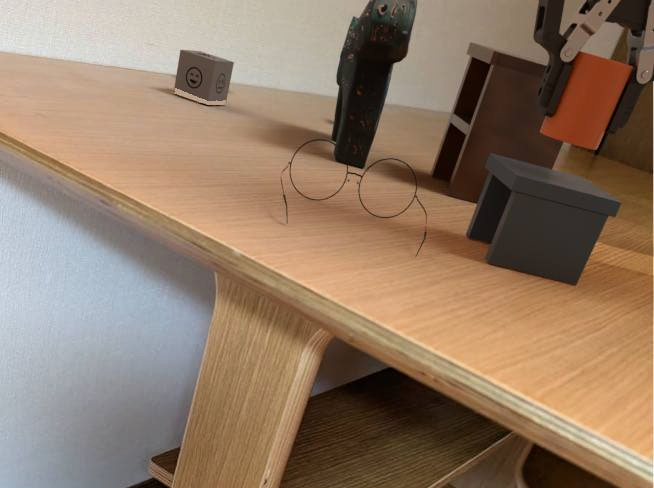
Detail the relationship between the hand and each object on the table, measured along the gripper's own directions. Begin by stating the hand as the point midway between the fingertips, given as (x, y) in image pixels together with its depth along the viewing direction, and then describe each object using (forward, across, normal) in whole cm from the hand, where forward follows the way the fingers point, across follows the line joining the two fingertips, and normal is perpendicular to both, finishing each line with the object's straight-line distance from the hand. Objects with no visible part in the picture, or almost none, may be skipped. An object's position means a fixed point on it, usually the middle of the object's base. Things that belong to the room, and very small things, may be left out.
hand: (575, 122), depth 66 cm
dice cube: (+11, -31, +45) cm, 55 cm away
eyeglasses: (+11, -16, -2) cm, 20 cm away
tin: (+1, 0, 0) cm, 1 cm away
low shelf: (+11, 0, 0) cm, 11 cm away
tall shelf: (+11, +3, +28) cm, 30 cm away
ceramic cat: (+11, -13, +34) cm, 38 cm away
